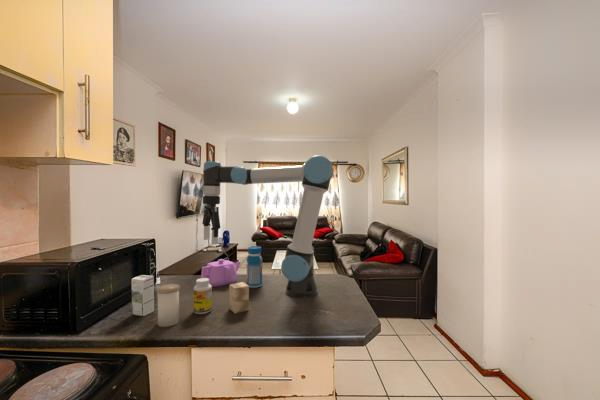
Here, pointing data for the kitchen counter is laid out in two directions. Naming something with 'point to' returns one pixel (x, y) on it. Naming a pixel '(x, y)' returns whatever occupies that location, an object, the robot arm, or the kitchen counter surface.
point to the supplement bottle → (202, 296)
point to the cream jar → (168, 305)
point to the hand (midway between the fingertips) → (210, 241)
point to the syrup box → (142, 295)
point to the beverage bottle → (254, 267)
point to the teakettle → (220, 272)
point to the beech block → (239, 297)
